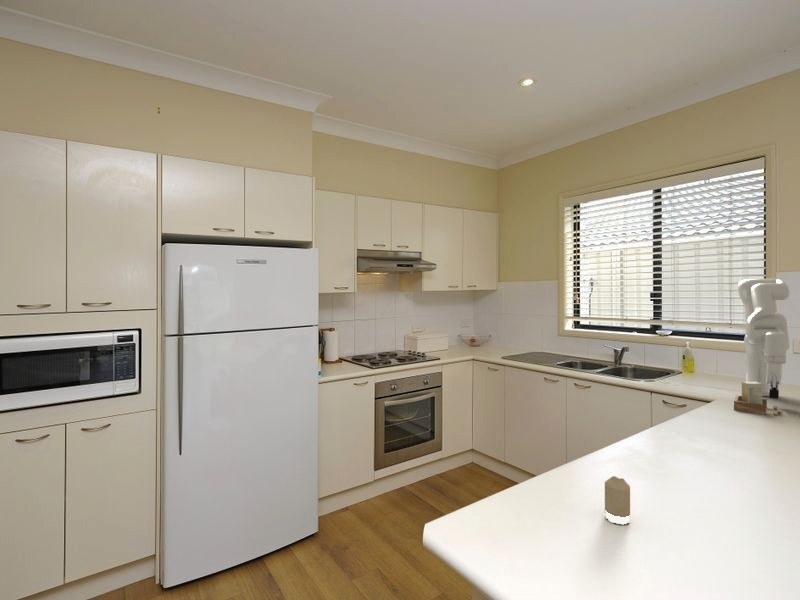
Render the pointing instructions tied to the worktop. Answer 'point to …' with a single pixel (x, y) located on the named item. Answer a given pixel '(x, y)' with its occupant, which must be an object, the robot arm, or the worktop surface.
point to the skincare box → (752, 392)
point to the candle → (617, 497)
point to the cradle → (750, 406)
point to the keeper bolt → (775, 410)
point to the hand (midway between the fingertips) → (773, 397)
